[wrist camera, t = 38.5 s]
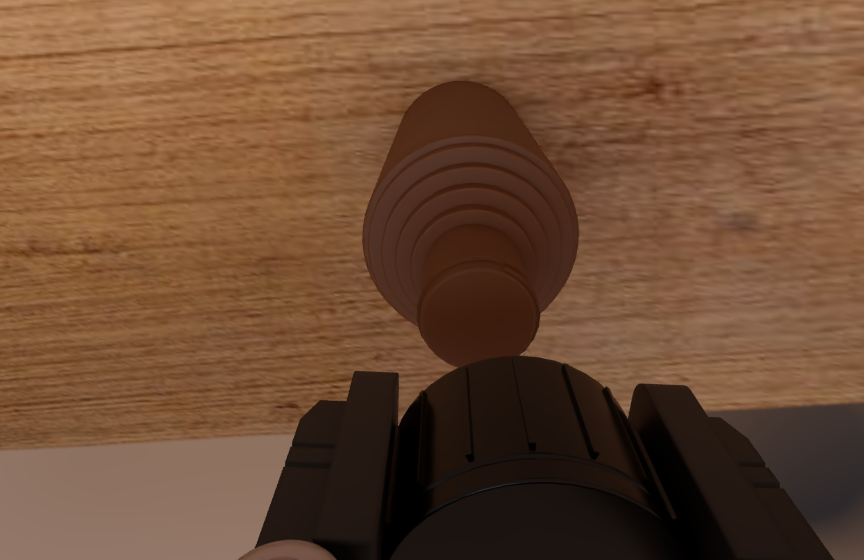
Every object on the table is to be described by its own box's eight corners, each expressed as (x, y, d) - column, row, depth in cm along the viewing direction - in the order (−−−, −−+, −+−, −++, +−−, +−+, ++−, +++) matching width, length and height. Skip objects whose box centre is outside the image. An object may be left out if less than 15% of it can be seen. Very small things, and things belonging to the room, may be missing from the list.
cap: (644, 526, 11) (708, 686, 8) (422, 562, 11) (416, 724, 9) (619, 328, 9) (687, 449, 7) (362, 378, 10) (333, 511, 7)
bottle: (479, 230, 33) (516, 478, 15) (373, 168, 32) (285, 362, 14) (549, 125, 31) (686, 278, 13) (438, 54, 29) (428, 119, 12)
